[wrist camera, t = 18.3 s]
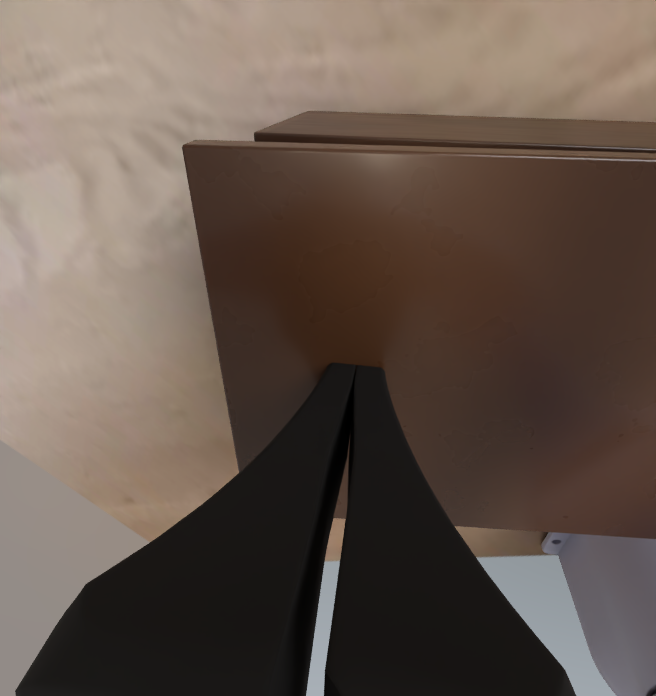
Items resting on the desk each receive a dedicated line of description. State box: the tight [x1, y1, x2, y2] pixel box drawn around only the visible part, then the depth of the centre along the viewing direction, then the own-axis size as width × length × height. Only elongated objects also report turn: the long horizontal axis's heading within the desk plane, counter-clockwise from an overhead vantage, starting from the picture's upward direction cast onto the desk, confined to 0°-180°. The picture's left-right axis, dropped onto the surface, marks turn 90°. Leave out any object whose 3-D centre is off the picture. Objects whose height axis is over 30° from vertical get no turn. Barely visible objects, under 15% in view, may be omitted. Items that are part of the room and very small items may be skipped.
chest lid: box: [182, 140, 656, 539], centre depth 10 cm, size 15×12×1 cm
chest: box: [254, 111, 656, 153], centre depth 14 cm, size 15×12×6 cm
